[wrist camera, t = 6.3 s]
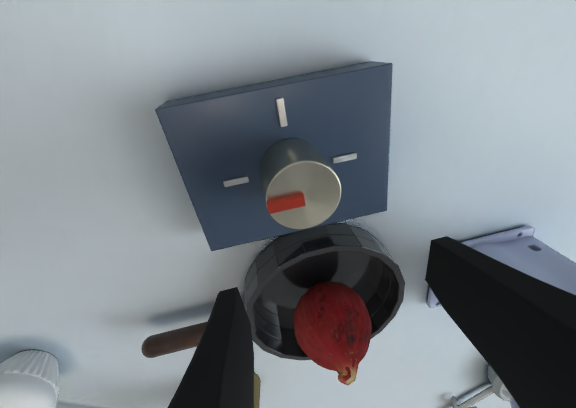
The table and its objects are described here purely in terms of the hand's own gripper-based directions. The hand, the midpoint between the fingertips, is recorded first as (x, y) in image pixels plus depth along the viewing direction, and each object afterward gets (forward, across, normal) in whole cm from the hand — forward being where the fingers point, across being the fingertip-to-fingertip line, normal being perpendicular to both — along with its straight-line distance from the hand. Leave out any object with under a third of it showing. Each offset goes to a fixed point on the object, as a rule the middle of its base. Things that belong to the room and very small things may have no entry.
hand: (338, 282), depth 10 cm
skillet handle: (+9, +10, +11) cm, 17 cm away
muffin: (+10, +24, +12) cm, 29 cm away
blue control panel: (+10, 0, -2) cm, 10 cm away
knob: (+7, 0, -2) cm, 8 cm away
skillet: (+10, -1, +11) cm, 15 cm away
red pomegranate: (+10, -1, +11) cm, 15 cm away
